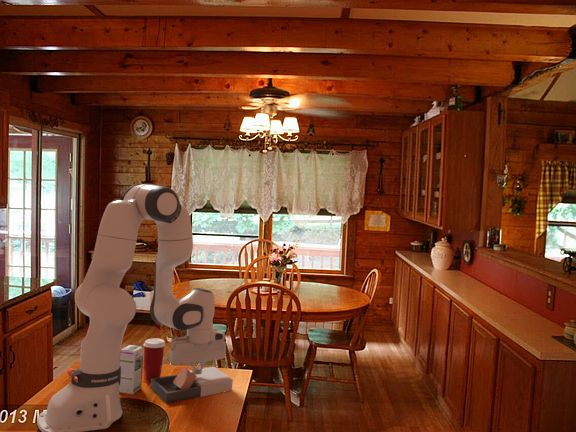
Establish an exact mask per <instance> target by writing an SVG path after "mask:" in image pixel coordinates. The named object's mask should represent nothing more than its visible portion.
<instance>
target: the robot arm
mask: <svg viewBox="0 0 576 432" xmlns="http://www.w3.org/2000/svg"><path fill="white" fill-rule="evenodd" d="M178 196H179V195H178V194H177V193H176V192H175V191H174V190H173V189H172V188H170V187H169V186H166V185H158V184H157V185H156V184H154V183H143V184H142V183H136V184H133V185H131V186H129V187H127V189H125V191H124V193H122V196H121V197H120V198H119V199H117V200H113V201H111V202H109V203H108V204H107V206H106V207H105V210H104V212H103V215H102V217H101V221H100V222H99V223H100V224H99V227H98V231H97V236H96V241H95V245H94V251H93V255H92V259H91V263H90V264H89V267H88V269H87V272H86V274H85V276H84V279H83V281H82V283H81V284H80V285H79V286H78V287H77V288H76V290H75V293H74V302H75V304H76V306H77V308H78V310H79V311H80V312H81V313H82V314H84V315H85V316H87V317H88V318H89V326H88V329H87V332H86V336H85V337H84V338H83V339H82V340H81V344H80V355H79V356H80V358H79V367H78V368H77V369H76V370H75V369H74V367H69V368H68V369H67V370H66V373H67V375H68V376H69V377H70V382H69V383H68V384H67V385H66V386H64V387H63V388H62V389H60V390H58V391H57V392H56V393H54V394H53V395H52V396H51V397H50V400H49V402H48V405H47V407H46V408H47V409H46V410H44V411H42V412H41V413H39V415H38V416H37V421H36V424H37V427H38V429H39V431H41V432H89V431H97V430H98V431H99V430H106V429H108V428H110V427H111V425H112V424H113V423H114V422H116V421H117V420H119V419H120V418H121V417H122V415H123V409H122V406H121V398H120V392H119V385H120V381H121V366H120V356H121V349H122V344H123V339H124V335H125V333H126V329H127V326H128V324H129V323H130V322H131V321H132V320H133V319H134V317H135V315H136V313H137V303H136V300H135V298H133V296H132V295H131V294H130V293H129V292H128V291H127V290H126V289H124V288H121V287H120V285H121V283H122V281H123V278H124V276H125V275H126V273H127V272H128V270H130V268H131V267H132V265H133V262H134V261H133V260H134V255H135V251H136V245H137V240H138V233H139V229H140V227H141V224H142V223H143V221H145V220H146V221H154V222H155V223H154V224H155V225H156V229H157V245H158V246H157V254H156V257H155V261H154V262H155V263H154V274H153V275H154V278H153V293H152V294H153V295H152V299H151V302H150V306H149V307H150V308H149V314H150V317H151V319H152V320H153V322H154V323H156V324H159V325H163V326H166V327H169V328H171V329H174V330H177V331H186V335H185V336H180V337H179V336H177V337H175V338H173V339H172V340H171V341H170V349H169V356H168V362H169V363H170V364H171V365H172V366H175V367H176V366H183V365H189V366H190V369H191V370H192V373H193V374H195V375H198V374H202V369H203V368H205V365H206V362H210V361H216V360H223V359H224V358H225V357H226V354H227V346H226V345H227V344H226V343H227V342H226V341H225V339H226V334H225V333H224V332H222V331H221V330H218V329H216V328H214V323H213V318H214V316H215V306H216V305H215V302H216V301H215V295H214V293H213V292H212V291H211V290H208V289H205V288H201V287H194V288H192V289H191V291H190V292H189V293H188V294H187V295H186V296H184V297H181V298H177V297H176V296H175V294H174V293H173V286H174V285H173V279H174V272H175V269H176V267H177V266H180V265H182V264H185V262H187V261H188V260H189V259H190V258H191V256H192V254H193V250H194V240H193V239H194V238H193V227H192V223H191V222H192V221H191V217H190V212H189V210H188V209H187V207H186V206H184V205H183V204H181V202H180V199H179V197H178ZM197 363H198V364H199V365H198V367H197V368H196V367H195V366H196V364H197Z"/></svg>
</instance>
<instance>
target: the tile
mask: <svg viewBox="0 0 576 432" xmlns="http://www.w3.org/2000/svg"><path fill="white" fill-rule="evenodd" d="M189 370H190V369H189ZM189 370H188V368H185V367H184V366H182V368H181V369H180V370H179V372H178V375H177V374H176V375H177V377H176V378H175V379H174V381H173V383H174V384H175V385H177V386H178V387H179V388H180V389H182V390H184V389H189V388H190V387H191V385H192V383H193V382H194V380H195V379H196V377H197V376H196V375H195V374H193V373H192V372H190V371H189Z"/></svg>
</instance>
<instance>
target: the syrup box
mask: <svg viewBox="0 0 576 432" xmlns="http://www.w3.org/2000/svg"><path fill="white" fill-rule="evenodd" d="M120 366H121V381H120V385H119V393H122V394H126V395H134V394H135V393H136V392H138V391H139V390H141V389H142V383H143V382H142V381H143V368H144V346H142V345H136V344H128V345H127V346H125V347H123V348H121V356H120Z"/></svg>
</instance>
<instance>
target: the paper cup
mask: <svg viewBox="0 0 576 432" xmlns="http://www.w3.org/2000/svg"><path fill="white" fill-rule="evenodd" d="M142 345H143V380H144V381H145V382H146V383H151V379H152V378H158V377H162V369H163V359H164V353H165V346H166V343H165V340H164V339H162V338H159V337H157V338H153V337H152V338H148V339H146V340H145V341H144V343H143V344H142Z"/></svg>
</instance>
